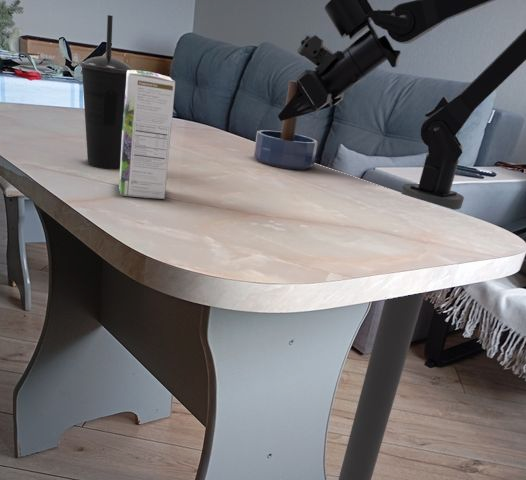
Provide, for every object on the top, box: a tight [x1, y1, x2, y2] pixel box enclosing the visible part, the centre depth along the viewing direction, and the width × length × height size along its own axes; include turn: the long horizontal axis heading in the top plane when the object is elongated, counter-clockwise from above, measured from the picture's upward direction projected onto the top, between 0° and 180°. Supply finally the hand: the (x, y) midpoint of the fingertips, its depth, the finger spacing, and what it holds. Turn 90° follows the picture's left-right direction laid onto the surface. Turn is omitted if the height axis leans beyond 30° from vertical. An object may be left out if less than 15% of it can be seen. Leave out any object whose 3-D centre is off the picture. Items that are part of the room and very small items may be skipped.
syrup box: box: [118, 69, 176, 200], centre depth 78 cm, size 6×6×14 cm
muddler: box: [280, 79, 299, 141], centre depth 114 cm, size 3×3×14 cm
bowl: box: [253, 129, 319, 171], centre depth 117 cm, size 11×11×5 cm
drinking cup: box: [79, 14, 135, 170], centre depth 88 cm, size 8×8×20 cm
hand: (285, 117), depth 114 cm, fingers open, 9 cm apart
